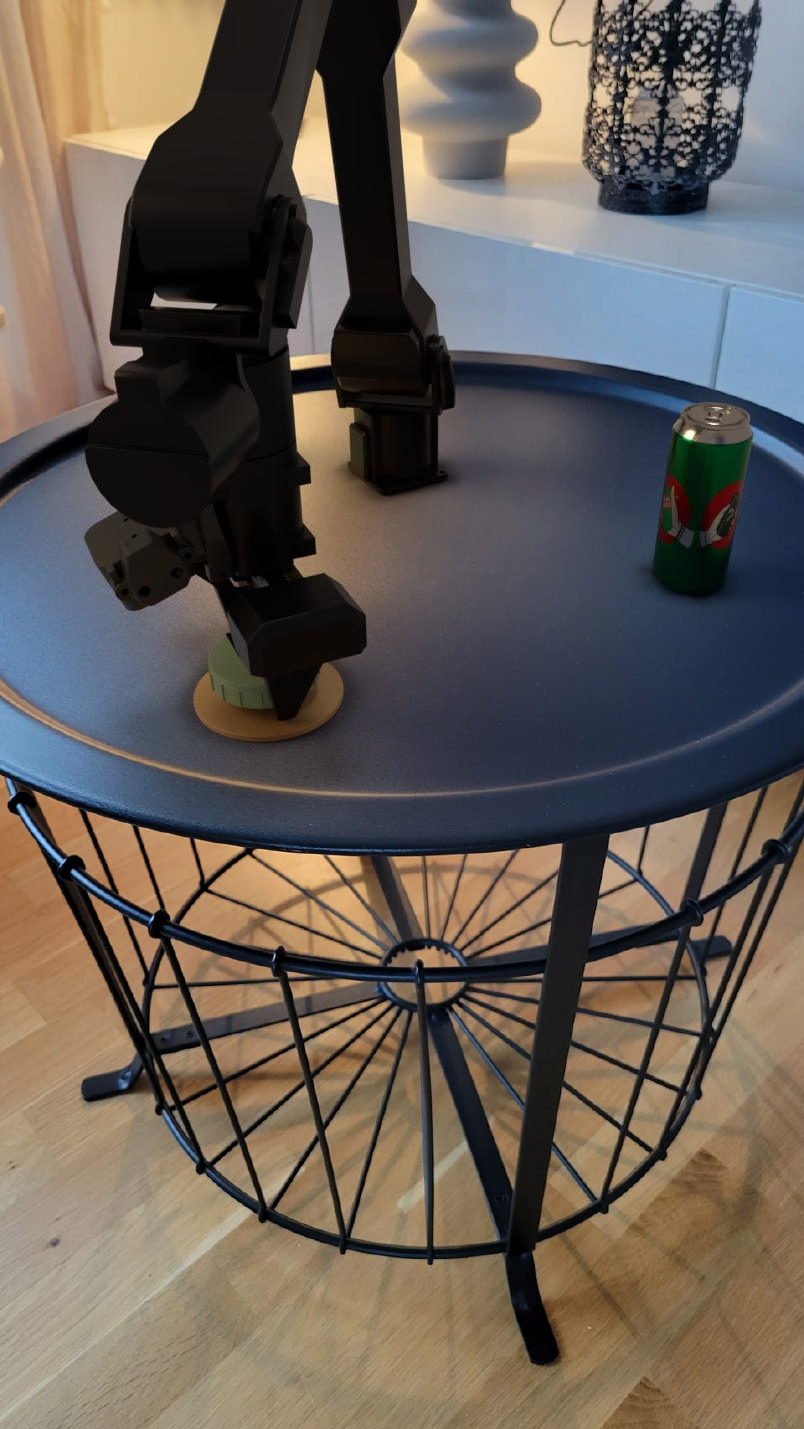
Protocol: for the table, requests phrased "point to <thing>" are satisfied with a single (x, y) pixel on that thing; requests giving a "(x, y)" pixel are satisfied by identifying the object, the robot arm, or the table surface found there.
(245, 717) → the coaster
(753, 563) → the table surface
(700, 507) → the soda can
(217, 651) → the lid
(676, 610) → the table surface
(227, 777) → the table surface
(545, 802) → the table surface
